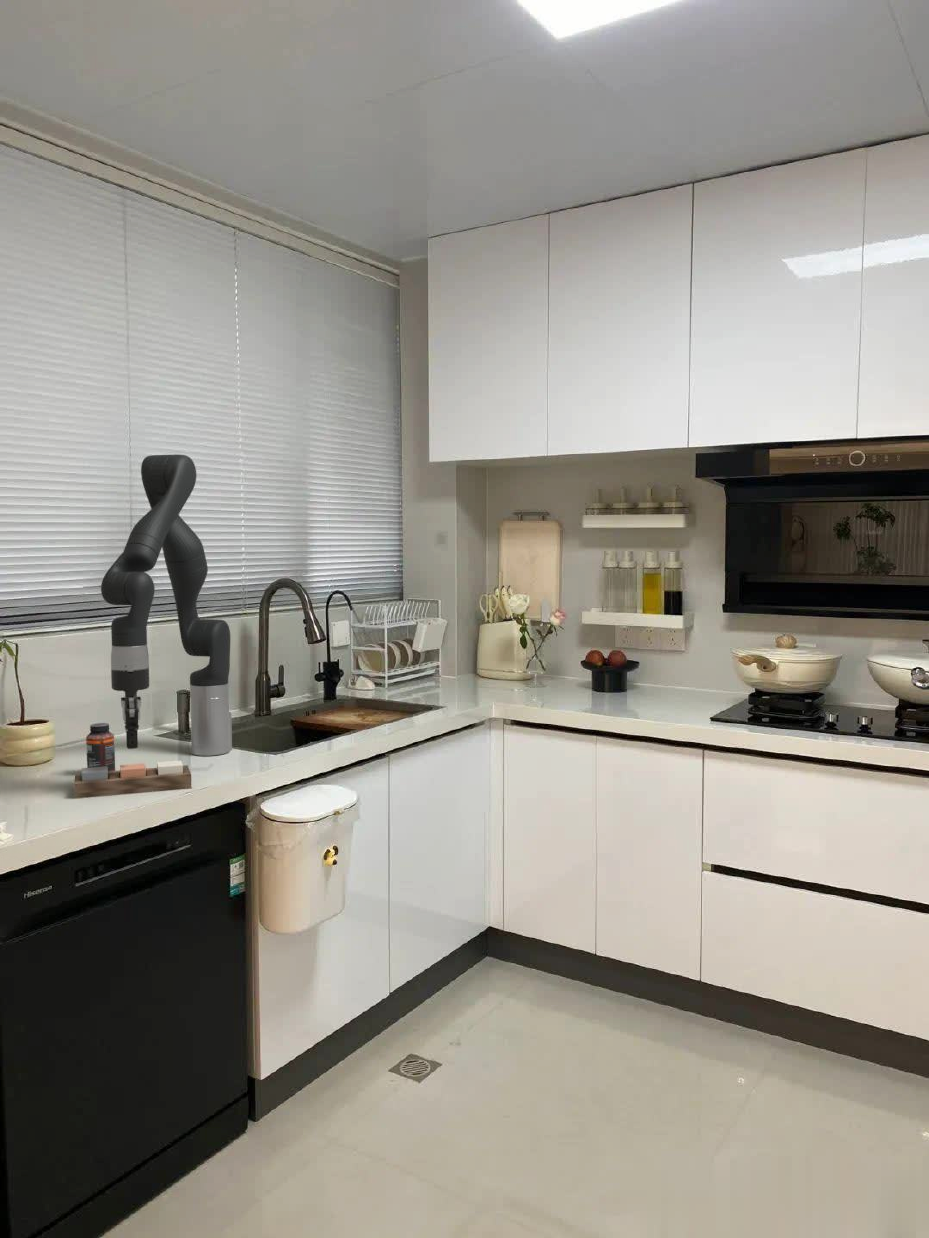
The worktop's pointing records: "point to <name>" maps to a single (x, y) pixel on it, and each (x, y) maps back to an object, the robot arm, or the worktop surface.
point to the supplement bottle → (100, 747)
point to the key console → (131, 783)
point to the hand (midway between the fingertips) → (132, 747)
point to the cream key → (169, 767)
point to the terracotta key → (132, 770)
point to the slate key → (95, 773)
